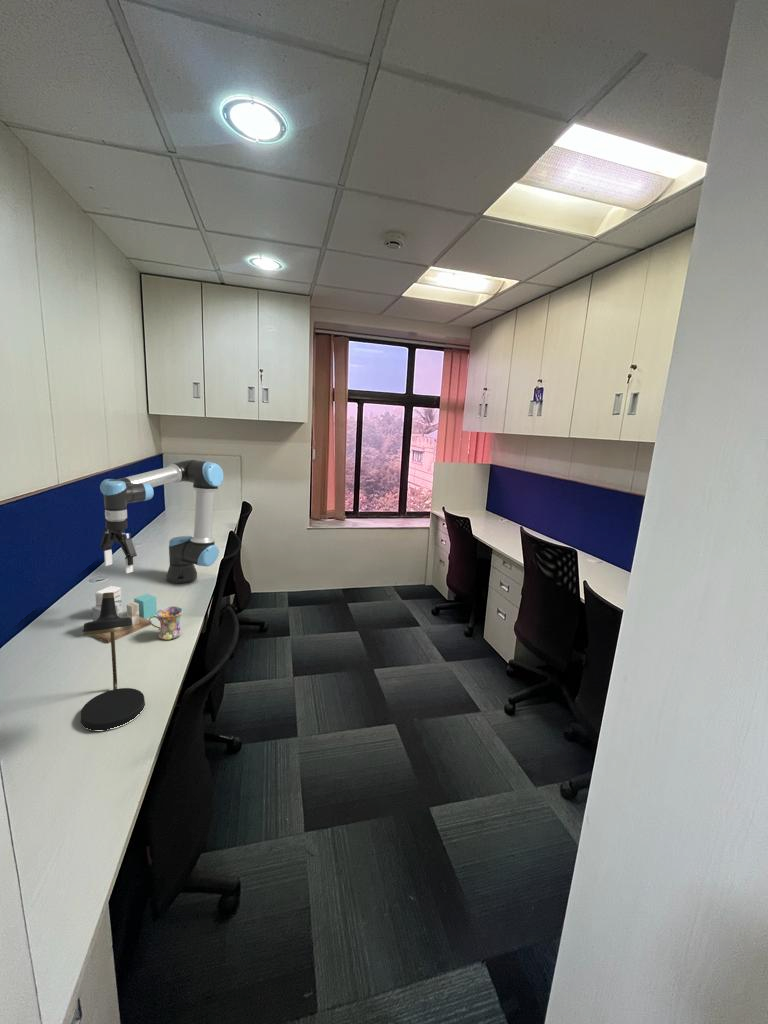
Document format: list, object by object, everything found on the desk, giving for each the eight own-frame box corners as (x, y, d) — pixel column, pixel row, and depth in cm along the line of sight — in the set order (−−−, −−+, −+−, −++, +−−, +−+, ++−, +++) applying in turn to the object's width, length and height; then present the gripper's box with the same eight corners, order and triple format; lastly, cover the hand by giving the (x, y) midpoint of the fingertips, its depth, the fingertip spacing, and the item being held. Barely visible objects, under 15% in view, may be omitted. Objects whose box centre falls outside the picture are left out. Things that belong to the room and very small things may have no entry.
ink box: (106, 620, 173) (104, 594, 171) (96, 618, 174) (94, 592, 171) (122, 611, 181) (121, 586, 179) (113, 609, 182) (111, 585, 180)
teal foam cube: (147, 610, 184) (146, 593, 182) (156, 614, 182) (156, 596, 180) (134, 615, 179) (133, 598, 177) (144, 619, 176) (143, 601, 175)
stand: (132, 616, 178) (131, 593, 175) (151, 624, 173) (150, 600, 171) (88, 634, 162) (86, 609, 159) (108, 643, 157) (106, 617, 155)
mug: (183, 628, 172) (182, 605, 170) (182, 639, 164) (182, 615, 162) (150, 632, 167) (149, 608, 165) (148, 644, 159) (147, 619, 156)
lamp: (76, 741, 111) (66, 610, 103) (85, 694, 129) (76, 579, 121) (145, 724, 119) (140, 601, 111) (144, 681, 137) (139, 573, 129)
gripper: (87, 515, 168) (91, 564, 173) (126, 526, 158) (129, 578, 162) (106, 512, 175) (109, 559, 179) (145, 523, 165) (147, 572, 169)
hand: (118, 568), depth 171 cm, fingers open, 13 cm apart
